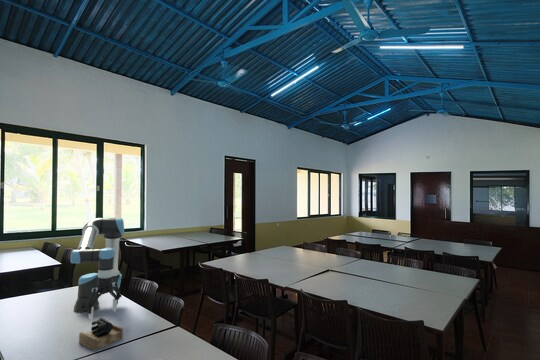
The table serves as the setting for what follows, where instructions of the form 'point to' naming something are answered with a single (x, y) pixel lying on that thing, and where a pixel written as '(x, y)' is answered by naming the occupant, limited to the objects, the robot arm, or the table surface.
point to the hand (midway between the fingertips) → (102, 315)
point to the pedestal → (95, 342)
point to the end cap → (101, 327)
